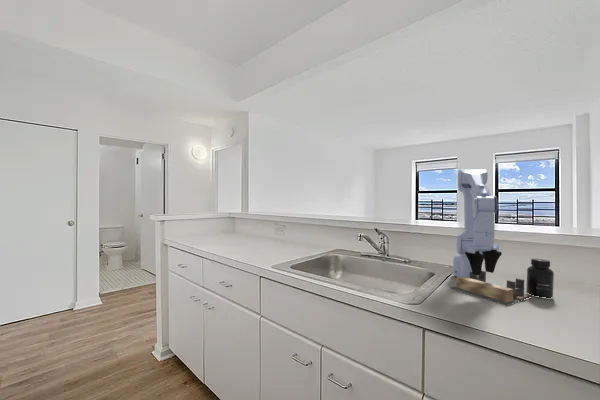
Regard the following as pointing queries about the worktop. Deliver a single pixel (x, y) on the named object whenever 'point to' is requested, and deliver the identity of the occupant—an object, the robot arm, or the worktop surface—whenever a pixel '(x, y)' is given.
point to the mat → (485, 296)
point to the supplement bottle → (540, 278)
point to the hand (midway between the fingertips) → (483, 273)
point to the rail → (485, 289)
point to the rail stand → (517, 290)
